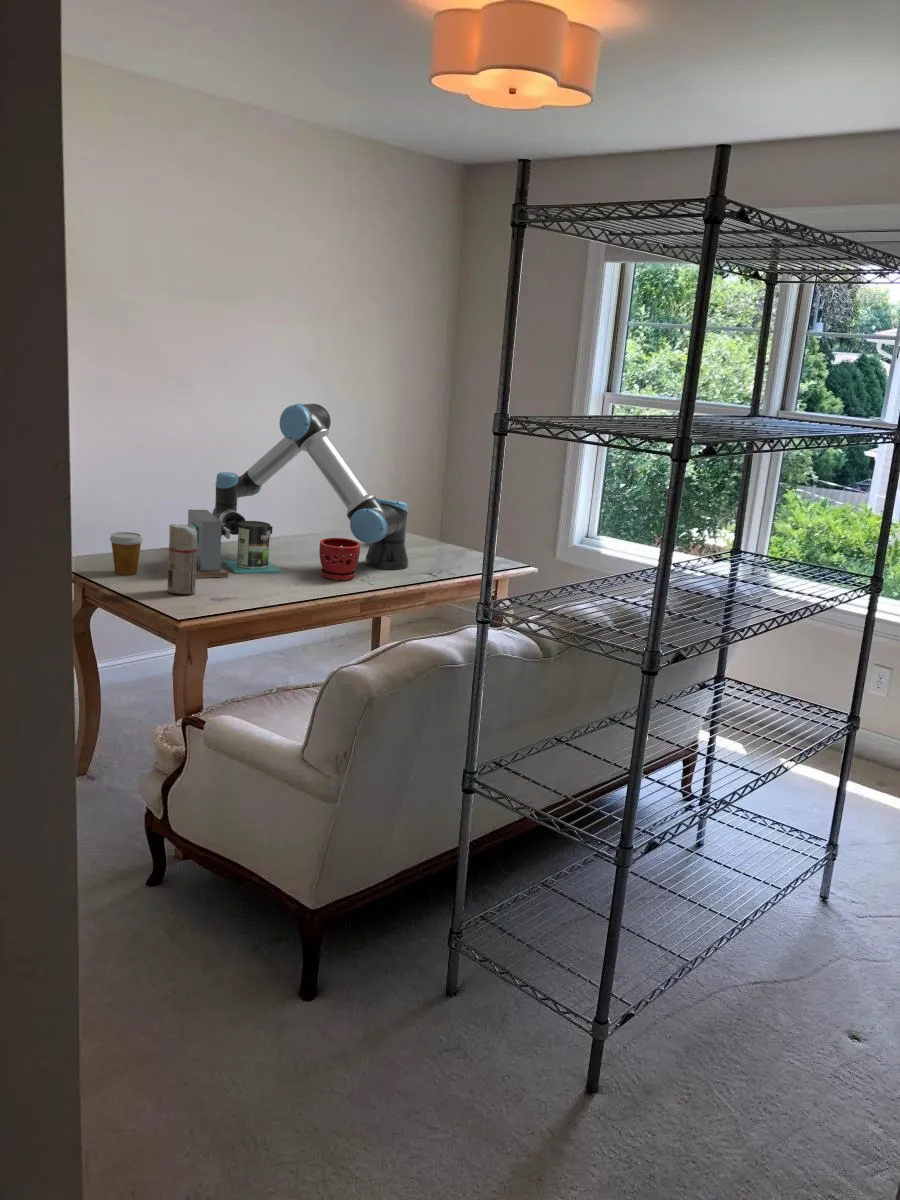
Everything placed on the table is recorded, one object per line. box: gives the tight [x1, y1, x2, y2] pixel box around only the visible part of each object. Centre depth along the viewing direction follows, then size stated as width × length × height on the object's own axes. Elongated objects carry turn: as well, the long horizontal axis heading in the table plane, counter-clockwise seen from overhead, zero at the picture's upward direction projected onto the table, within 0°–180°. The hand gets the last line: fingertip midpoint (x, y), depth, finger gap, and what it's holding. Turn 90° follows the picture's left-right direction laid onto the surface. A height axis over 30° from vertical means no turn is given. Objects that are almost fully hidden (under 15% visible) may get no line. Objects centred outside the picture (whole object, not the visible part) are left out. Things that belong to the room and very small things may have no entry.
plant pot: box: [319, 537, 361, 581], centre depth 322 cm, size 13×13×12 cm
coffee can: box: [236, 520, 271, 569], centre depth 323 cm, size 10×10×14 cm
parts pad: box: [223, 560, 282, 574], centre depth 324 cm, size 15×15×1 cm
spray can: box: [166, 523, 197, 595], centre depth 285 cm, size 8×8×20 cm
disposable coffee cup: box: [109, 531, 143, 577], centre depth 302 cm, size 10×10×12 cm
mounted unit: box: [187, 509, 229, 579], centre depth 315 cm, size 24×10×18 cm, turn 26°
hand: (249, 534), depth 325 cm, fingers open, 13 cm apart
